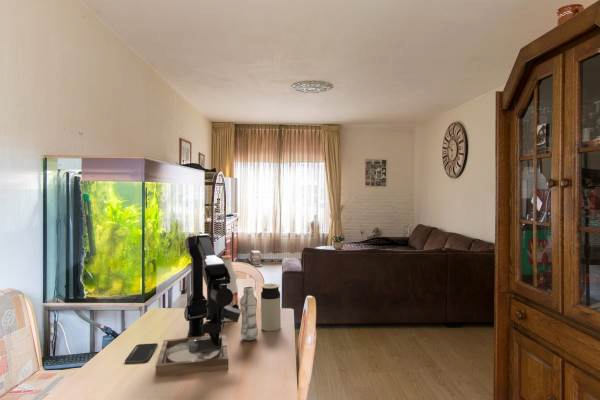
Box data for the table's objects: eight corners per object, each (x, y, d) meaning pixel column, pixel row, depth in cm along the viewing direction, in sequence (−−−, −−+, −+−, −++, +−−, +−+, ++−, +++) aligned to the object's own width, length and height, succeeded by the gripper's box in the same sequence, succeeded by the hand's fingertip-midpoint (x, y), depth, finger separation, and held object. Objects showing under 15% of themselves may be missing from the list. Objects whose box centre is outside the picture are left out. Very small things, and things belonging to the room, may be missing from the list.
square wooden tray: (163, 349, 143) (163, 339, 143) (225, 343, 148) (225, 333, 148) (156, 377, 121) (155, 365, 121) (228, 369, 126) (228, 357, 126)
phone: (123, 361, 131) (136, 344, 146) (123, 365, 131) (136, 347, 146) (148, 360, 132) (158, 343, 147) (148, 363, 132) (158, 346, 147)
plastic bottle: (255, 343, 148) (254, 290, 147) (237, 342, 149) (237, 289, 149) (260, 336, 154) (259, 286, 154) (243, 335, 156) (243, 285, 155)
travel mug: (273, 333, 158) (272, 288, 158) (257, 329, 162) (256, 286, 162) (284, 327, 165) (283, 284, 165) (269, 323, 169) (268, 282, 169)
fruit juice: (212, 318, 178) (211, 256, 177) (230, 313, 184) (229, 253, 183) (224, 323, 171) (223, 258, 170) (242, 318, 177) (241, 256, 177)
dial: (164, 368, 124) (163, 353, 123) (168, 347, 141) (168, 333, 141) (222, 362, 128) (222, 346, 128) (219, 341, 146) (219, 328, 145)
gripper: (236, 306, 125) (237, 355, 125) (242, 292, 144) (242, 335, 144) (200, 307, 125) (201, 356, 125) (211, 293, 143) (211, 336, 143)
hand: (216, 345), depth 134 cm, fingers closed
